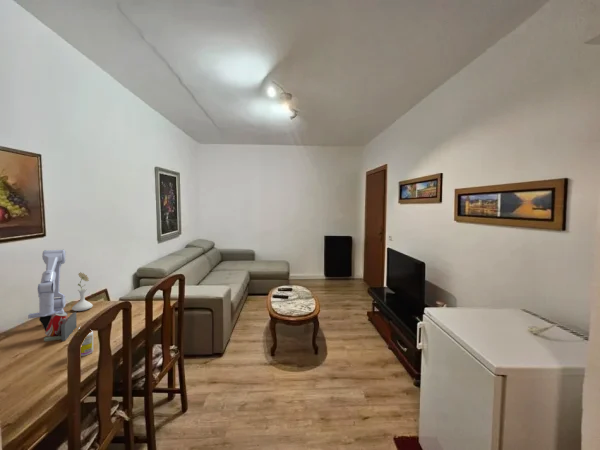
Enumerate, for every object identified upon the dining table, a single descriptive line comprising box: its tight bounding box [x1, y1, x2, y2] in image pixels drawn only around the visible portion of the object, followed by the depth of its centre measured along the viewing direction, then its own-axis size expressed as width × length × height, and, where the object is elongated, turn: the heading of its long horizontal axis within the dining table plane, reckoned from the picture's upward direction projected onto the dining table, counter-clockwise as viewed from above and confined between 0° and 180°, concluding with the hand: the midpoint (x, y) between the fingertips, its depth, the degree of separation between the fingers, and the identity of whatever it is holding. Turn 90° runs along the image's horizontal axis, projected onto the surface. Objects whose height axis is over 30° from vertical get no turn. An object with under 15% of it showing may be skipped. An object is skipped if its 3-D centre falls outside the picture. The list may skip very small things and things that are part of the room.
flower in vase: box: [71, 271, 94, 312], centre depth 192 cm, size 13×11×25 cm
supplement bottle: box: [78, 326, 94, 357], centre depth 136 cm, size 7×7×13 cm
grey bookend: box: [43, 311, 77, 342], centre depth 154 cm, size 18×10×9 cm, turn 23°
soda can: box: [44, 311, 69, 337], centre depth 153 cm, size 7×7×12 cm
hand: (46, 329), depth 151 cm, fingers closed, pressing on soda can
